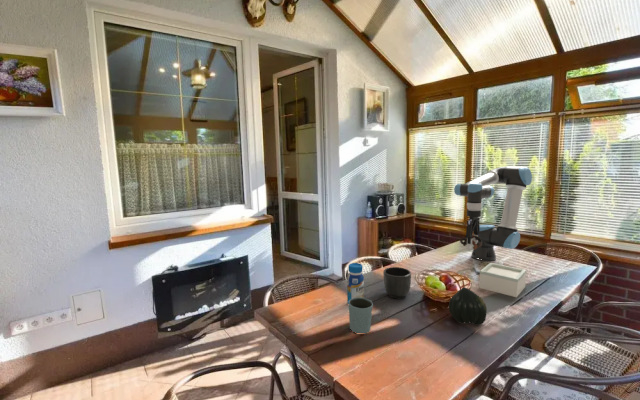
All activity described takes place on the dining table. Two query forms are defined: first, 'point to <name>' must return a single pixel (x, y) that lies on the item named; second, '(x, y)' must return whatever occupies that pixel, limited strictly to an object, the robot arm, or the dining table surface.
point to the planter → (397, 281)
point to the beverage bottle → (355, 282)
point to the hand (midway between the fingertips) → (472, 247)
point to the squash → (467, 307)
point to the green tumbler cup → (360, 314)
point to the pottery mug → (472, 242)
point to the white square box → (502, 279)
